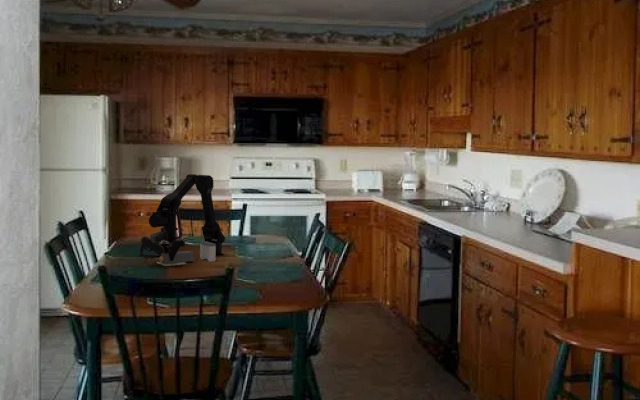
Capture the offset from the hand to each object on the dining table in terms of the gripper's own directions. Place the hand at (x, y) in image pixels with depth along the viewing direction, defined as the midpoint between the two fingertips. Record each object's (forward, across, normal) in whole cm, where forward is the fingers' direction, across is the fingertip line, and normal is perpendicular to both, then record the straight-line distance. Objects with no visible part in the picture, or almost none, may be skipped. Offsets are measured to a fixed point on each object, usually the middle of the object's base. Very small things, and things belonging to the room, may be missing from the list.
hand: (169, 260), depth 314 cm
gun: (+2, -20, +3) cm, 20 cm away
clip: (+2, 0, +20) cm, 20 cm away
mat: (+2, 0, +1) cm, 2 cm away
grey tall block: (+1, 0, +4) cm, 4 cm away
